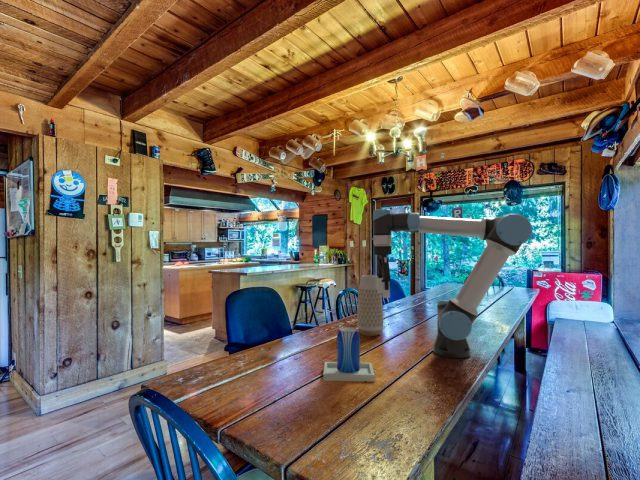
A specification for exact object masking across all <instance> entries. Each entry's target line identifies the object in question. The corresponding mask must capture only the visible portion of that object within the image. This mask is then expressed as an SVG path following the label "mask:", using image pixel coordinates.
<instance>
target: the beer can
mask: <svg viewBox="0 0 640 480" xmlns="http://www.w3.org/2000/svg"><path fill="white" fill-rule="evenodd" d="M360 337H361V335H360V332H359V330H358V328H356V327H353V326H342V327H340V328H339V331H338V332H337V334H336V362H337V370H338V371H339V373H346V374H357V373H358V371H359V370H360V362H361V355H360V354H361V349H360V348H361V343H360V342H361V339H360Z"/></svg>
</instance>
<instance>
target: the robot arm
mask: <svg viewBox="0 0 640 480" xmlns="http://www.w3.org/2000/svg"><path fill="white" fill-rule="evenodd" d="M372 215H373V216H372V218H373V219H372V229H373V230H372V231H373V232H372V233H373V237H372V238H371V239H372V241H373V245H374V246H373V255H375V256H377V257H376V258H377V265H376V276H377V277H378V293H382V299H390V298H391V288H390V287H391V285H390V281H391V280H392V279H391V272H390V264H389V263H390V261H389V260H390V259H389V256H388V255H392V246H391V245H392V232H405V233H419V234H421V233H422V234H423V233H424V234H432V235H435V234H436V235H446V236H458V237H459V236H460V237H471V238H472V237H473V238H479V239H480V240H481V241H485V243H486V247H485V248H484V250H483V252H482V253H481V255H480V257H479V258H478V259H477V262H476V263H475V265H474V267H473V268H472V269H471V272H470V273H469V275H468V276H467V278H466V280H465V281H464V283H463V285H462V286H461V287H460V289H459V291H458V293H457V295H456V296H455V297H453V298H449V300H448V299H440V300H438V301H437V305H436V310H437V314H436V315H437V316H436V317H437V318H436V319H437V320H436V321H437V322H436V323H437V327H436V328H437V332H436V333H437V334H436V336H435V337H436V338H435V340H434V342H433V346H432V347H433V348H432V349H433V352H434V353H435V354H436V355H438V356H441V357H444V358H449V359H465V358H468V357H471V348H470V344H469V341H468V340H467V339H468V337H469V336H470V334H471V332H472V329H473V325H474V322H475V321H476V319H477V318H478V316H479V314H478V310H477V309H478V307H479V305H480V304H481V302H482V301H483V299H484V298H485V296H486V294H487V293H488V291H489V290H490V287H491V286H492V285H493V283H494V282H495V280H496V278H498V277H497V276H498V275H499V273H500V272H501V270H502V268H503V267H504V265H505V264H506V262H507V260H509V258H510V256H515V255H516V254H517V253H518V252H519V249H520V248H521V246H522V245H523V244H525V243H526V242H527V241H528V240H530V237H531V236H532V232H533V227H532V224H531V222H530V221H529V219H528V218H527V217H525V216H524V215H522V214H519V213H507V214H503V215H502V216H495V217H482V218H481V219H475V218H473V219H472V218H457V217H456V218H455V217H441V216H439V217H438V216H425V215H424V216H423V215H420V213H419V212H401V213H400V212H398V213H392V212H391V209H389V208H378V209H375V210H373V213H372Z"/></svg>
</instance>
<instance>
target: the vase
mask: <svg viewBox="0 0 640 480" xmlns="http://www.w3.org/2000/svg"><path fill="white" fill-rule="evenodd" d="M356 313H357V314H356V317H357V318H356V326H357V331H358V333H359V334H361V335H363V336H367V337H375V336H378V335H380V334H381V332H382V331H383V326H384V315H383V314H384V313H383V293H378V277H377V274H376V275H375V274H364V275H363V274H362V275H361V279H360V284H359V285H358V292H357V311H356Z"/></svg>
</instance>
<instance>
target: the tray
mask: <svg viewBox="0 0 640 480" xmlns="http://www.w3.org/2000/svg"><path fill="white" fill-rule="evenodd" d="M322 374H323V376H322V377H323V379H322V380H323V381H324V382H327V381H328V382H364V381H367V383H368V382H371V383H373V382H375V377H376V376H375V371H374V368H373V364H372V362H362V361H360V370H359V371H358V373H357V374H346V373H339V371H338V370H337V361H325V362H324V366H323V373H322Z"/></svg>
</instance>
